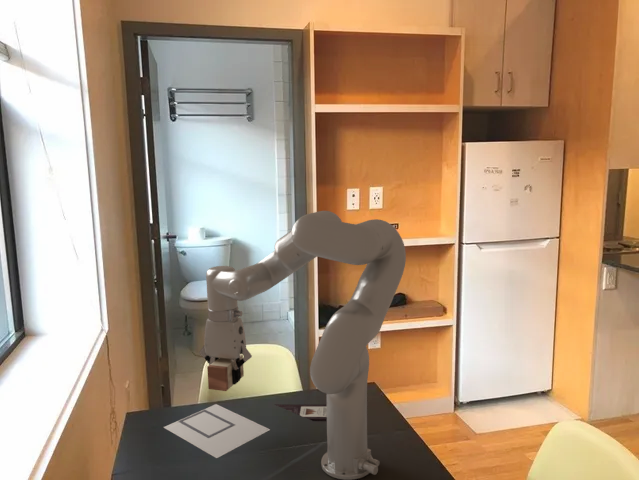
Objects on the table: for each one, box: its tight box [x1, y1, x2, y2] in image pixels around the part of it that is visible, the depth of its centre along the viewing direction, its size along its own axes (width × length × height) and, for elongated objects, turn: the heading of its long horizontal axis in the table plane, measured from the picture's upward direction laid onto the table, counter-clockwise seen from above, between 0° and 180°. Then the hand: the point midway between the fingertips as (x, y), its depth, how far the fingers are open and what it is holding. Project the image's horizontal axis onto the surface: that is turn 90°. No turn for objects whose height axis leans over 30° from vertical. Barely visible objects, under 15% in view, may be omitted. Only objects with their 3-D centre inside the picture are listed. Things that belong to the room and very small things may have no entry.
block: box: [206, 354, 245, 392], centre depth 137 cm, size 10×5×6 cm, turn 162°
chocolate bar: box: [274, 404, 327, 422], centre depth 152 cm, size 9×1×18 cm
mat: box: [163, 403, 271, 459], centre depth 143 cm, size 24×18×1 cm
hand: (226, 380), depth 137 cm, fingers closed on block, 5 cm apart
